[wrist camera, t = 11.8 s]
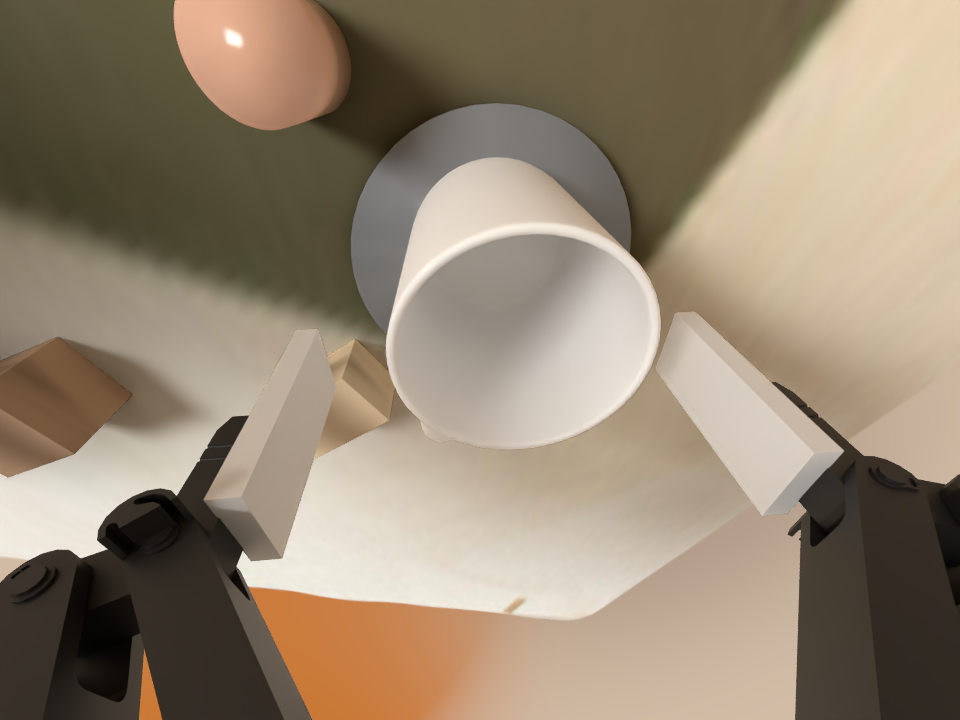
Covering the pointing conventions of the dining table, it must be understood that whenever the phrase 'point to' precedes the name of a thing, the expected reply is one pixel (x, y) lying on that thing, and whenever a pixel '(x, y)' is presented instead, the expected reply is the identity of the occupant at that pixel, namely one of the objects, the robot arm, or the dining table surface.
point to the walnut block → (51, 405)
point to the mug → (516, 312)
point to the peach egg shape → (265, 58)
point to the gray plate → (456, 143)
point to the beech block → (355, 396)
